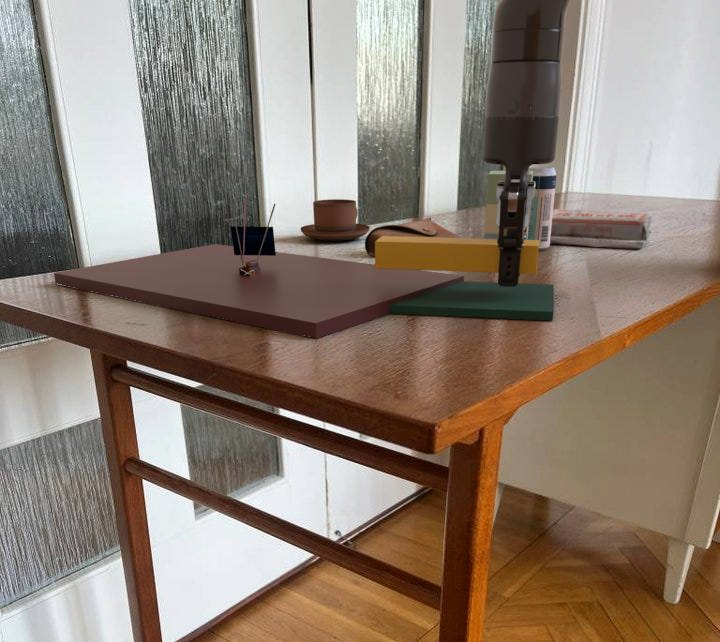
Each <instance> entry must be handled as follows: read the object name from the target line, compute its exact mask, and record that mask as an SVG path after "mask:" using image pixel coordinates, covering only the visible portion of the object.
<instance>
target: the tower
mask: <svg viewBox="0 0 720 642" xmlns="http://www.w3.org/2000/svg"><path fill="white" fill-rule="evenodd" d="M505 172H506V170H490V171H489V173H488V174H487V185H486V186H487V189H486V200H485V201H486V204H485V219H484V220H485V221H484V237H483V239H499V228H498V227H497V224H496V220H497V208H498V200H497V198H496V191H497V183H499V181H505ZM532 179H533V171H529V175H528V180H529V181H532ZM527 238H528V228H527V229H526V232H525V240H527Z"/></svg>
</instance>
